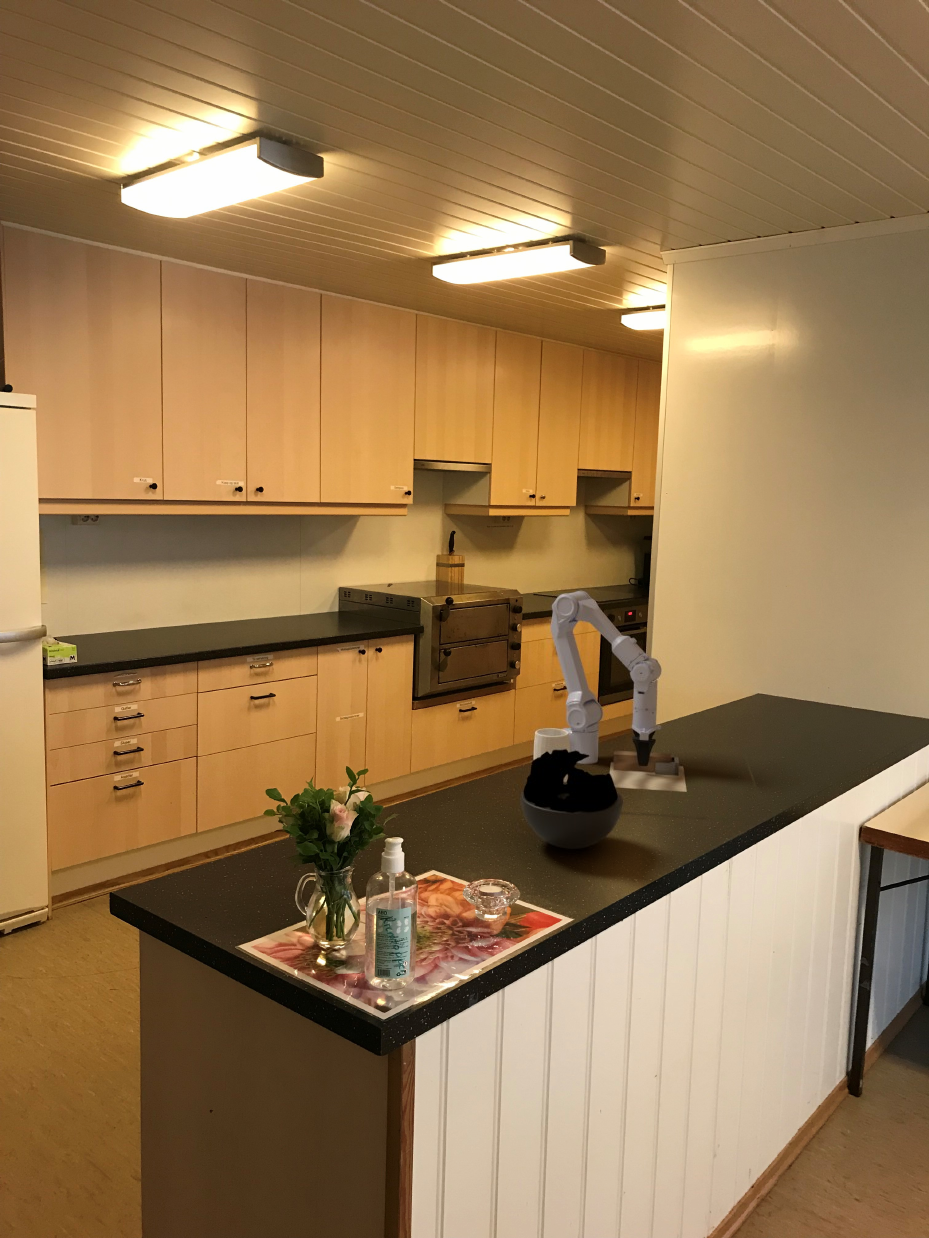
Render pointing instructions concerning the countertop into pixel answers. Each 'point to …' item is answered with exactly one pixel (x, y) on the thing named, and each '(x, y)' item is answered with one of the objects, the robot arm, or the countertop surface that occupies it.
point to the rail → (630, 761)
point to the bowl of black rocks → (569, 801)
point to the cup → (551, 742)
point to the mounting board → (648, 780)
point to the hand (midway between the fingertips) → (643, 761)
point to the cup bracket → (668, 767)
